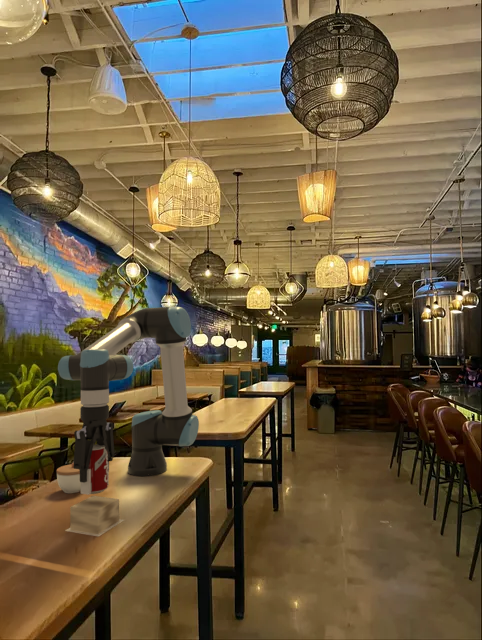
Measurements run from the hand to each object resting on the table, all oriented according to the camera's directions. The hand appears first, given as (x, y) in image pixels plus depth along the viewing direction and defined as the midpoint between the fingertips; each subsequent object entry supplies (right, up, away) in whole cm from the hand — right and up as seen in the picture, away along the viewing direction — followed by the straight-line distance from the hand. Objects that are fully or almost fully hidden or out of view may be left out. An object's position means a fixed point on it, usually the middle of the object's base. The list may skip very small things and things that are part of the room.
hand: (95, 489), depth 121 cm
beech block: (0, -10, 0) cm, 10 cm away
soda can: (0, -1, 0) cm, 1 cm away
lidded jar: (-18, -13, +32) cm, 39 cm away
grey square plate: (-1, -11, +1) cm, 11 cm away
